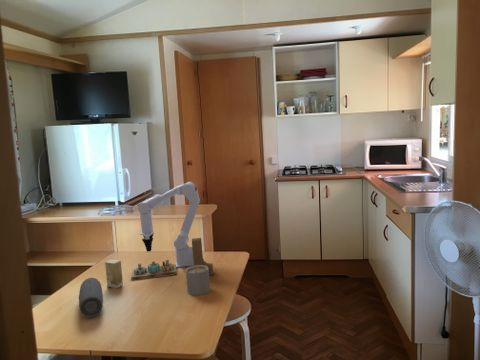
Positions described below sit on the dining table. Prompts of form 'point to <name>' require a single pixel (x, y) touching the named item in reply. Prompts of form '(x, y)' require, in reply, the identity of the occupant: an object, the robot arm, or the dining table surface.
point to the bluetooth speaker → (90, 297)
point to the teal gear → (153, 268)
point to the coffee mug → (198, 280)
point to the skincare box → (114, 273)
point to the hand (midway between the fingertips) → (149, 249)
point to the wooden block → (200, 255)
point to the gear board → (164, 271)
